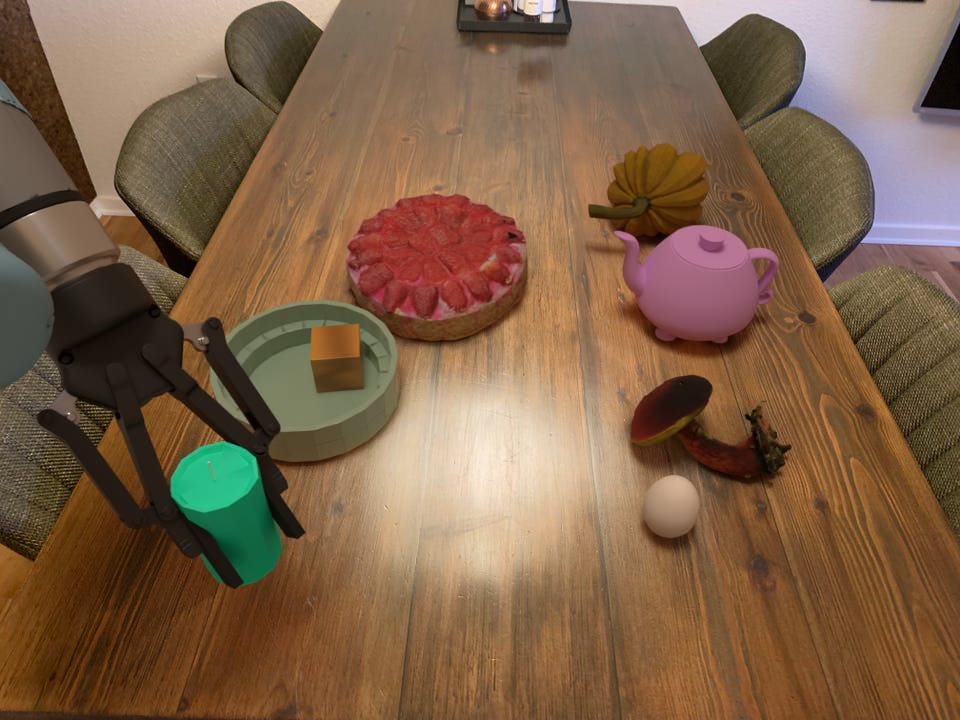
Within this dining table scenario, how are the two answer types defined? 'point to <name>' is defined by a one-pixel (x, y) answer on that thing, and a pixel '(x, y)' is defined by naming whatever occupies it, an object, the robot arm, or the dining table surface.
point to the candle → (229, 507)
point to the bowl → (290, 383)
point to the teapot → (698, 283)
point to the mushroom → (676, 413)
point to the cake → (437, 266)
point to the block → (337, 358)
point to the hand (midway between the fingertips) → (266, 558)
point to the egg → (671, 506)
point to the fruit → (655, 191)
